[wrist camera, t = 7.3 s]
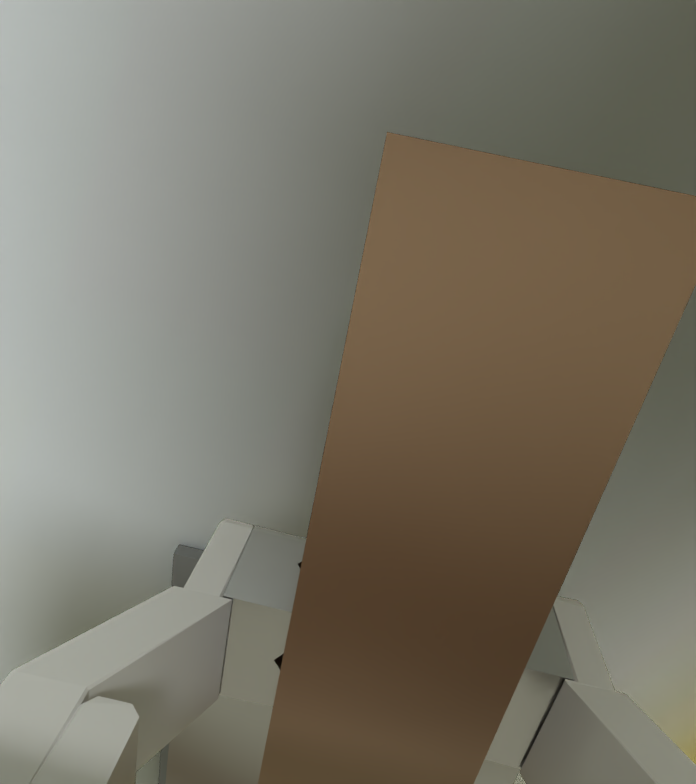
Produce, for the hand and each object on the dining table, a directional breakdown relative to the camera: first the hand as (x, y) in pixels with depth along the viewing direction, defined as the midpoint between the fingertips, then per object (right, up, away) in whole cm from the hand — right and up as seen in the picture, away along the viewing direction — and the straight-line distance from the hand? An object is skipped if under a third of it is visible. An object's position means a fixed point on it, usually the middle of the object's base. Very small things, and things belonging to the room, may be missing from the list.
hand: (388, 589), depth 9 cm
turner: (0, -2, +2) cm, 3 cm away
